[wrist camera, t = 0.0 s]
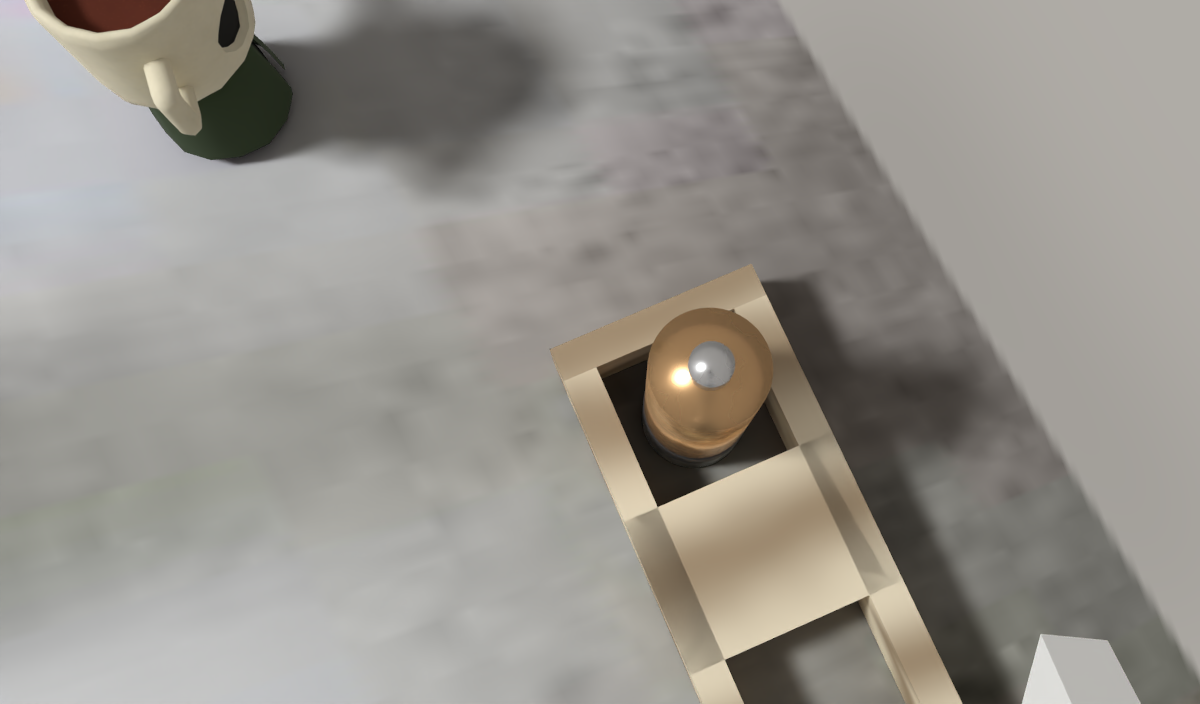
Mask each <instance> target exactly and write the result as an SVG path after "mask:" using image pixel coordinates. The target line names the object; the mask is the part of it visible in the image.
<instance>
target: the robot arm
mask: <svg viewBox="0 0 1200 704" xmlns="http://www.w3.org/2000/svg"><path fill="white" fill-rule="evenodd" d="M1022 704H1141V703H1140V701H1139V699H1138V698H1137V696H1136V694H1135V692H1134V690H1133V688H1132V686H1131V684H1130V682H1129V680H1128V678H1127V677H1126V675H1125V673H1124V671H1123V669H1122V667H1121V665H1120V663H1119V661H1118V659H1117V658H1116V656H1115V654H1114V652H1113V650H1112V648H1111V646H1110V644H1109V642H1108V640H1098V639H1088V638H1077V637H1067V636H1056V635H1046V634H1041V635H1040V639H1039V642H1038V646H1037V650H1036V653H1035V657H1034V661H1033V664H1032V668H1031V672H1030V676H1029V679H1028V683H1027V687H1026V690H1025V694H1024V698H1023V701H1022Z"/></svg>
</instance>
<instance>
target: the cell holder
mask: <svg viewBox="0 0 1200 704" xmlns="http://www.w3.org/2000/svg"><path fill="white" fill-rule="evenodd" d="M699 308H720V309H725V310H728V311H732V312H734V313H736V314H738V315H740V316H742V317H744V318H745V319H747V320H748V321H749V322H751V323H752V324H753V325H754V326H755V327H756V328H757V329H758V330H759V332H760V333H761V334H762V336H763V337H764V339H765V341H766V342H767V344H768V347H769V349H770V352H771V356H772V361H773V379H772V385H771V388H770V391H769V393H768V396H767V398H766V400H765V401H764V402H765V404H766V406H767V409H768V411H769V413H770V415H771V417H772V419H773V421H774V423H775V426H776V428H777V430H778V432H779V434H780V436H781V438H782V441H783V443H784V445H785V447H786V449H787V451H785V452H783V453H781V454H779V455H776V456H774V457H772V458H769V459H767V460H765V461H762V462H760V463H758V464H756V465H753V466H751V467H749V468H746V469H744V470H742V471H740V472H737V473H735V474H733V475H730V476H728V477H726V478H724V479H721V480H719V481H717V482H714V483H712V484H710V485H707V486H705V487H703V488H701V489H698V490H696V491H694V492H691V493H689V494H687V495H685V496H682V497H680V498H678V499H675V500H673V501H671V502H669V503H666V504H664V505H662V506H659V507H657V504H656V502H655V500H654V498H653V495H652V493H651V491H650V489H649V486H648V484H647V482H646V479H645V477H644V475H643V473H642V470H641V468H640V466H639V463H638V461H637V459H636V457H635V454H634V452H633V450H632V448H631V445H630V443H629V441H628V438H627V436H626V434H625V432H624V429H623V427H622V425H621V422H620V420H619V418H618V416H617V413H616V411H615V409H614V407H613V404H612V402H611V400H610V397H609V395H608V393H607V391H606V388H605V386H604V384H603V381H602V379H603V378H605V377H608V376H610V375H612V374H615V373H617V372H619V371H622V370H624V369H626V368H629V367H631V366H633V365H636V364H638V363H640V362H643V361H645V360H647V359H648V357H649V353H650V350H651V346H652V344H653V342H654V340H655V338H656V337H657V335H658V334H659V332H660V331H661V330H662V329H663V327H664V326H665V325H666V324H668V323H669V322H670V321H671V320H672V319H674V318H675V317H677V316H679V315H681V314H683V313H685V312H688V311H690V310H694V309H699ZM550 351H551V355H552V358H553V361H554V364H555V366H556V369H557V371H558V373H559V376H560V378H561V380H562V383H563V385H564V387H565V390H566V392H567V394H568V397H569V399H570V401H571V403H572V406H573V408H574V410H575V413H576V415H577V417H578V420H579V422H580V424H581V427H582V429H583V431H584V434H585V436H586V438H587V441H588V443H589V445H590V448H591V450H592V452H593V455H594V457H595V459H596V461H597V464H598V466H599V468H600V471H601V473H602V475H603V478H604V480H605V482H606V485H607V487H608V489H609V492H610V494H611V496H612V499H613V501H614V503H615V506H616V508H617V510H618V513H619V515H620V517H621V519H622V522H623V524H624V526H625V529H626V531H627V533H628V536H629V538H630V540H631V543H632V545H633V547H634V550H635V552H636V554H637V557H638V559H639V561H640V564H641V566H642V568H643V571H644V573H645V575H646V578H647V580H648V582H649V584H650V587H651V589H652V591H653V594H654V596H655V598H656V601H657V603H658V605H659V608H660V610H661V612H662V615H663V617H664V619H665V622H666V624H667V626H668V629H669V631H670V633H671V636H672V638H673V640H674V642H675V645H676V647H677V649H678V652H679V654H680V656H681V659H682V661H683V663H684V666H685V668H686V670H687V673H688V675H689V677H690V680H691V682H692V684H693V687H694V689H695V691H696V694H697V696H698V698H699V700H700V703H701V704H744V703H743V700H742V698H741V696H740V694H739V691H738V689H737V687H736V684H735V682H734V680H733V678H732V675H731V673H730V671H729V669H728V666H727V664H726V662H725V660H726V659H728V658H730V657H732V656H735V655H737V654H739V653H741V652H743V651H746V650H748V649H750V648H752V647H755V646H757V645H759V644H761V643H764V642H766V641H768V640H770V639H773V638H775V637H777V636H779V635H781V634H784V633H786V632H788V631H790V630H793V629H795V628H797V627H799V626H802V625H804V624H806V623H808V622H811V621H813V620H815V619H817V618H819V617H822V616H824V615H826V614H828V613H831V612H833V611H835V610H837V609H840V608H842V607H844V606H846V605H849V604H851V603H853V602H855V601H857V600H858V603H859V605H860V607H861V609H862V611H863V613H864V615H865V618H866V620H867V622H868V624H869V626H870V628H871V630H872V632H873V635H874V637H875V639H876V641H877V643H878V645H879V647H880V649H881V652H882V654H883V656H884V658H885V660H886V662H887V664H888V667H889V669H890V671H891V673H892V675H893V677H894V679H895V681H896V684H897V686H898V688H899V690H900V692H901V694H902V696H903V699H904V701H905V703H906V704H962V702H961V700H960V698H959V695H958V693H957V691H956V689H955V687H954V685H953V683H952V681H951V679H950V677H949V675H948V673H947V670H946V668H945V666H944V664H943V662H942V660H941V658H940V656H939V654H938V652H937V650H936V648H935V645H934V643H933V641H932V639H931V637H930V635H929V633H928V631H927V629H926V627H925V625H924V622H923V620H922V618H921V616H920V614H919V612H918V610H917V608H916V606H915V604H914V602H913V600H912V597H911V595H910V593H909V591H908V589H907V587H906V585H905V583H904V581H903V579H902V577H901V575H900V572H899V570H898V568H897V566H896V564H895V562H894V560H893V558H892V556H891V554H890V552H889V549H888V547H887V545H886V543H885V541H884V539H883V537H882V535H881V533H880V531H879V529H878V527H877V524H876V522H875V520H874V518H873V516H872V514H871V512H870V510H869V508H868V506H867V504H866V502H865V499H864V497H863V495H862V493H861V491H860V489H859V487H858V485H857V483H856V481H855V479H854V476H853V474H852V472H851V470H850V468H849V466H848V464H847V462H846V460H845V458H844V456H843V454H842V451H841V449H840V447H839V445H838V443H837V441H836V439H835V437H834V435H833V433H832V431H831V429H830V426H829V424H828V422H827V420H826V418H825V416H824V414H823V412H822V410H821V408H820V406H819V404H818V401H817V399H816V397H815V395H814V393H813V391H812V389H811V387H810V385H809V383H808V381H807V378H806V376H805V374H804V372H803V370H802V368H801V366H800V364H799V362H798V360H797V358H796V356H795V353H794V351H793V349H792V347H791V345H790V343H789V341H788V339H787V337H786V335H785V333H784V331H783V328H782V326H781V324H780V322H779V320H778V318H777V316H776V314H775V312H774V310H773V308H772V305H771V303H770V301H769V299H768V297H767V295H766V293H765V291H764V289H763V287H762V285H761V283H760V280H759V278H758V276H757V274H756V272H755V270H754V268H753V266H752V264H750V265H748V266H745V267H743V268H740V269H738V270H736V271H733V272H731V273H729V274H726V275H724V276H722V277H719V278H717V279H715V280H712V281H710V282H707V283H705V284H703V285H700V286H698V287H696V288H693V289H691V290H689V291H686V292H684V293H682V294H679V295H677V296H674V297H672V298H670V299H667V300H665V301H663V302H660V303H658V304H656V305H653V306H651V307H649V308H646V309H644V310H641V311H639V312H637V313H634V314H632V315H630V316H627V317H625V318H623V319H620V320H618V321H616V322H613V323H611V324H608V325H606V326H604V327H601V328H599V329H597V330H594V331H592V332H590V333H587V334H585V335H583V336H580V337H578V338H575V339H573V340H571V341H568V342H566V343H564V344H561V345H559V346H557V347H554V348H552V349H550Z"/></svg>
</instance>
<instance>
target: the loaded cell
mask: <svg viewBox="0 0 1200 704" xmlns="http://www.w3.org/2000/svg"><path fill="white" fill-rule="evenodd" d="M772 379H773V361H772V356H771V352H770V349H769V347H768V344H767V342H766V341H765V339H764V337H763V336H762V334H761V333H760V332H759V330H758V329H757V328H756V327H755V326H754V325H753V324H752V323H751V322H749V321H748V320H747V319H745V318H744V317H742V316H740V315H738V314H736V313H734V312H732V311H728V310H725V309H720V308H699V309H694V310H690V311H688V312H685V313H683V314H681V315H679V316H677V317H675V318H674V319H672V320H671V321H670V322H669V323H668V324H666V325H665V326H664V327H663V329H662V330H661V331H660V332H659V334H658V335H657V337H656V338H655V340H654V342H653V344H652V346H651V350H650V353H649V357H648V365H647V376H646V388H645V393H644V399H643V409H642V423H643V429H644V432H645V435H646V438H647V440H648V441H649V443H650V445H651V446H652V448H653V449H654V450H655V451H656V452H657V453H658V454H659V455H660V456H661V457H662V458H664V459H666V460H667V461H669V462H671V463H673V464H675V465H678V466H682V467H688V468H698V467H705V466H709V465H711V464H714V463H716V462H718V461H720V460H721V459H723V458H724V457H725V456H726V455H728V454H729V453H730V452H731V450H732V449H733V448H734V447H735V445H736V444H737V442H738V441H739V440H740V438H741V437H742V435H743V433H744V432H745V430H746V427H747V426H748V425H749V423H750V422H751V420H752V419H753V417H754V416H755V415H756V413H757V412H758V410H759V409H760V407H761V406H762V404H763V403H764V401H765V400H766V398H767V396H768V393H769V391H770V388H771V385H772Z"/></svg>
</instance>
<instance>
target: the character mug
mask: <svg viewBox="0 0 1200 704" xmlns="http://www.w3.org/2000/svg"><path fill="white" fill-rule="evenodd" d="M24 1H25V2H26V4H27V6H28V8H29V10H30V12H31V14H32V15H33V16H34V18H35V19H36V20H37V21H38V22H39V23H40V24H41V25H42V26H43V27H44V28H45V29H46V30H47V31H48V32H49V33H50V34H51V35H52V36H53V37H54V38H55V39H56V40H57V41H58V42H59V43H60V44H61V45H62V46H63V47H64V48H65V49H66V50H67V51H68V52H69V53H70V54H71V55H72V56H73V57H74V58H75V59H76V60H77V61H79V62H80V63H81V64H82V65H83V66H84V67H85V68H86V69H87V70H88V71H89V72H90V73H91V74H92V75H93V76H94V77H95V78H96V79H97V80H98V81H99V82H100V83H101V84H103V85H104V86H105V87H107V88H108V89H110V90H111V91H112V92H114V93H115V94H116V95H118V96H119V97H120V98H122V99H123V100H124V101H127V102H129V103H131V104H135V105H140V106H145V107H149V109H150V110H151V112H152V114H153V115H154V117H155V118H156V119H157V121H158V122H159V124H160V125H161V126H162V128H163V129H164V130H165V132H166V133H167V134H168V135H169V136H170V137H171V138H172V139H173V140H174V141H175V142H176V143H177V144H178V145H179V146H180V148H181V149H182V150H183V151H184V152H187V153H190V154H194V155H197V156H200V157H203V158H206V159H210V160H215V159H224V158H233V157H241V156H244V155H246V154H248V153H250V152H252V151H254V150H256V149H259V148H261V147H263V146H265V145H267V144H269V143H270V142H271V141H272V139H273V138H274V137H275V135H276V134H277V133H278V131H279V130H280V129H281V127H282V126H283V125H284V123H285V122H286V121H287V118H288V113H289V109H290V104H291V99H292V95H293V93H292V90H291V87H290V86H289V85H288V83H287V82H286V81H285V80H284V79H283V78H282V76H281V75H280V74H279V73H278V72H277V70H276V69H275V68H274V67H273V66H272V65H271V64H270V63H269V61H268V60H267V59H266V57H265V56H264V54H263V53H262V52H261V50H260V49H259V48H258V47H257V45H260V46H262V47H263V48H264V49H265V50H266V51H267V52H269V53H270V54H271V55H272V57H273V58H274V59H275V60H276V61H277V62H278V63H279V64H280V65H281V66H282V67H283V69H284V70H285V67H284V64H283V63H282V62H281V61H280V60H279V59H278V58H277V57H276V56H275V55H274V53H273V52H272V51H271V50H270V49H269V48H268V47H267V46H266V45H265V44H264V43H263V42H262V41H261V40H260V39H259V38H258V37H257V36H255V35H254V29H255V17H254V11H253V7H252V3H251V0H24ZM256 44H257V45H256Z"/></svg>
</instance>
